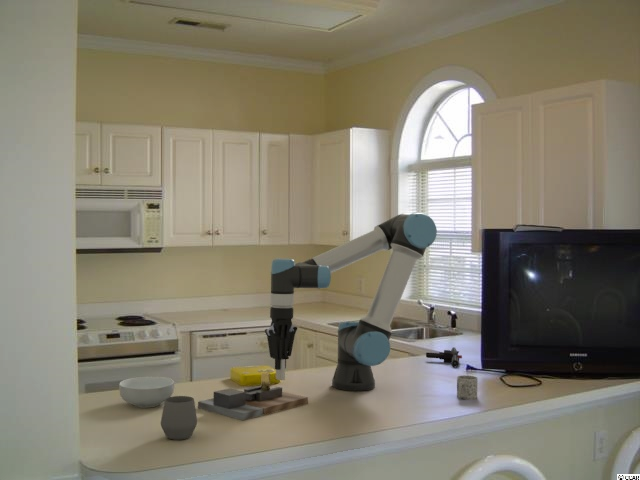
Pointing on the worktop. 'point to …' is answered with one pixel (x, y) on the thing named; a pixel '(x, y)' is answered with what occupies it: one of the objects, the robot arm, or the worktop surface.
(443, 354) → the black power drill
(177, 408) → the cup
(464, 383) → the mug
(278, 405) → the door and jamb
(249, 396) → the bolt
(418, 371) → the worktop surface
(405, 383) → the worktop surface
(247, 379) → the element tile
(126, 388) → the cereal bowl
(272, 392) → the bolt housing
